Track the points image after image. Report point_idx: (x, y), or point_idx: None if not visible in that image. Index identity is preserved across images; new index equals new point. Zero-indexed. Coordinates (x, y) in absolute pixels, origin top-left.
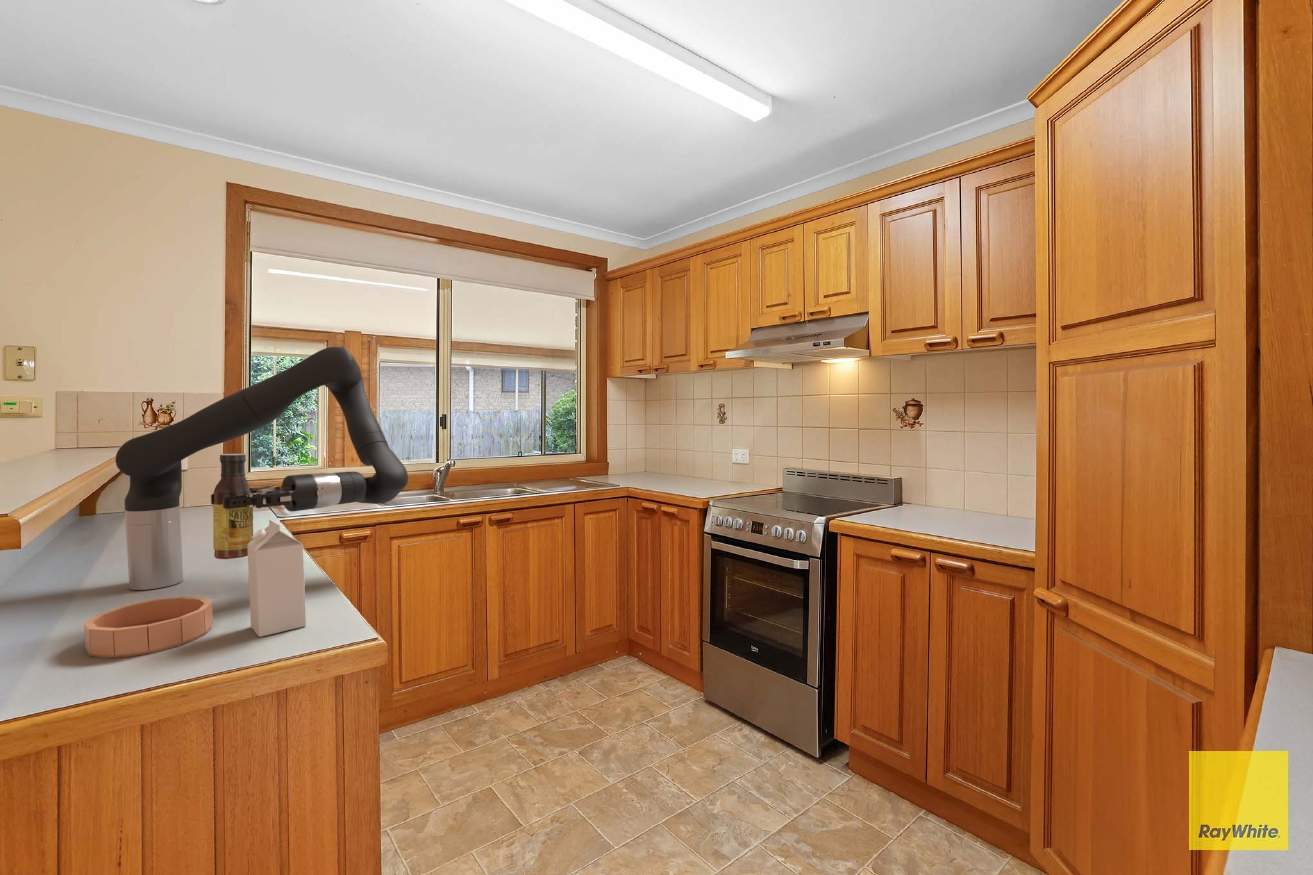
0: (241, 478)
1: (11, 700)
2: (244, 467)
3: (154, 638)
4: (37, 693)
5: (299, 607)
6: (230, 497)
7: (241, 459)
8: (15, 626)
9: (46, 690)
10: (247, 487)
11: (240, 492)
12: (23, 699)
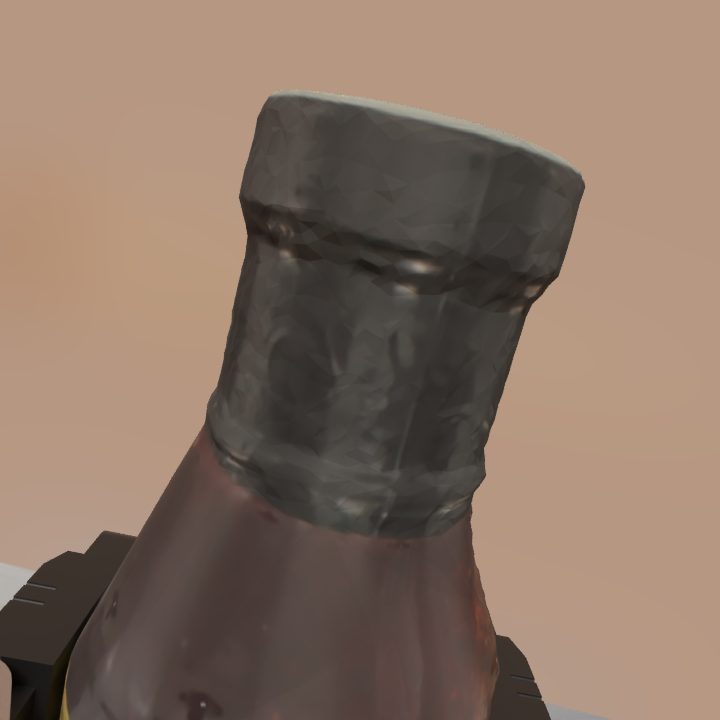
0: (195, 471)
1: (35, 571)
2: (299, 353)
3: None
4: (16, 591)
5: None
6: (89, 556)
7: (247, 176)
8: (571, 714)
9: (12, 599)
10: (136, 640)
11: (100, 600)
12: (14, 576)
